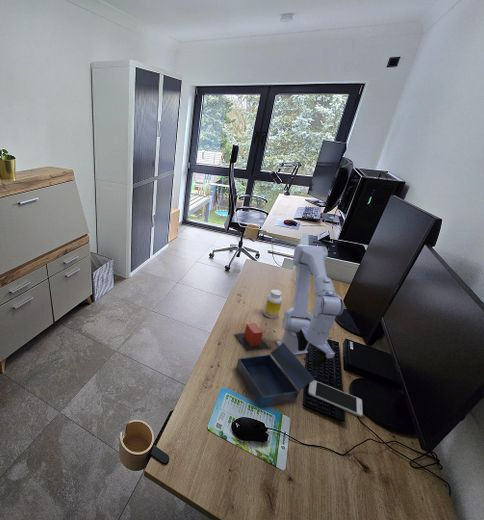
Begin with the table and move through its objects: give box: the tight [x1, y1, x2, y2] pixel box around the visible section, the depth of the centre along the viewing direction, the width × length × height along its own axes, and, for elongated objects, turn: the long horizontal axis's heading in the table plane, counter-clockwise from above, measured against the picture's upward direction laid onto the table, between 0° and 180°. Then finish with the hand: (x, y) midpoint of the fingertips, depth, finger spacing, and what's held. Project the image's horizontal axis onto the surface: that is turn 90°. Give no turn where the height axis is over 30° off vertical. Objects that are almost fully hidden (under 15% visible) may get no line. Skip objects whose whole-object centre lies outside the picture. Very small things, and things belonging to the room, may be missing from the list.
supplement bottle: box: [262, 289, 283, 319], centre depth 137 cm, size 7×7×13 cm
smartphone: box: [307, 379, 364, 418], centre depth 99 cm, size 7×15×1 cm, turn 57°
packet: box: [243, 322, 264, 346], centre depth 121 cm, size 4×6×7 cm, turn 10°
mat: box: [234, 332, 269, 352], centre depth 123 cm, size 10×10×1 cm
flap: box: [270, 343, 316, 391], centre depth 101 cm, size 6×17×1 cm
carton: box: [235, 354, 300, 409], centre depth 102 cm, size 13×17×5 cm
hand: (308, 358), depth 101 cm, fingers open, 7 cm apart
